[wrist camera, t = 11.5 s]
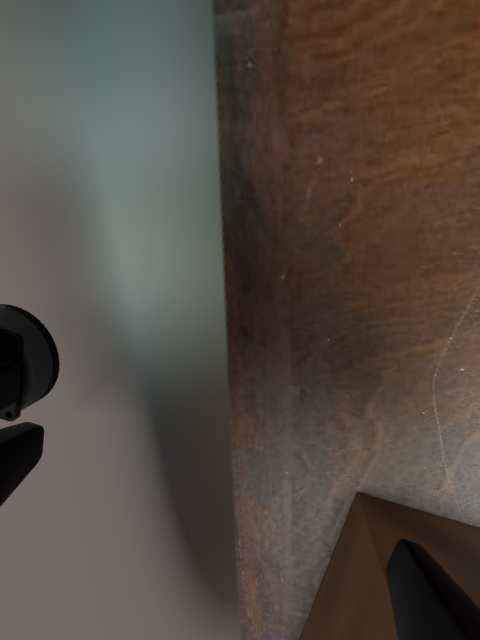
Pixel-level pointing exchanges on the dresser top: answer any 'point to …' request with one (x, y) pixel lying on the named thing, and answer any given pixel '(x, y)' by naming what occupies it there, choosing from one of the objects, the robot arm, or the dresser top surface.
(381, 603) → the stand
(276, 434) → the dresser top surface
